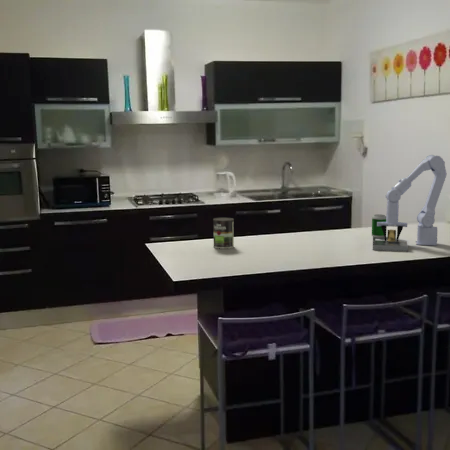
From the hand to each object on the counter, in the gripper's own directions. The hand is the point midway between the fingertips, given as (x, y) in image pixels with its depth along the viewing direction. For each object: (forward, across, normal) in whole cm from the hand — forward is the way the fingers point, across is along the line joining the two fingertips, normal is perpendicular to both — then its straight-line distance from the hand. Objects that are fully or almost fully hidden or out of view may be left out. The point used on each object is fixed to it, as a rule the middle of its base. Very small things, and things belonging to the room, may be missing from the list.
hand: (391, 240), depth 282 cm
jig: (+2, -1, -11) cm, 11 cm away
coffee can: (+2, -81, -23) cm, 84 cm away
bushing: (+2, 0, 0) cm, 2 cm away
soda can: (+2, -6, +16) cm, 17 cm away
